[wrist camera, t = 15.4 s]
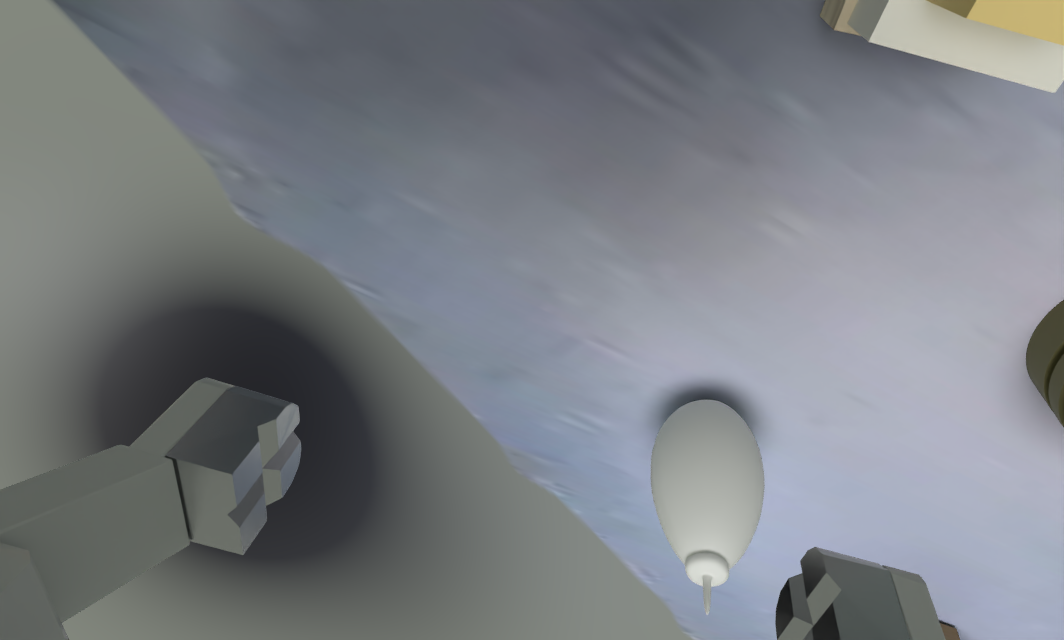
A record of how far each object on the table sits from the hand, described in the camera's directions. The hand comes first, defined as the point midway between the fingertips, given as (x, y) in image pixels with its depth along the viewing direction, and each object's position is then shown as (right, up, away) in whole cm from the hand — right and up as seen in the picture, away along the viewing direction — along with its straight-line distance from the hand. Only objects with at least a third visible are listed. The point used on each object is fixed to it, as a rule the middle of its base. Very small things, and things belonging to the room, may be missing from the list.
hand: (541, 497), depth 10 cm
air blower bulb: (+14, -5, +42) cm, 45 cm away
